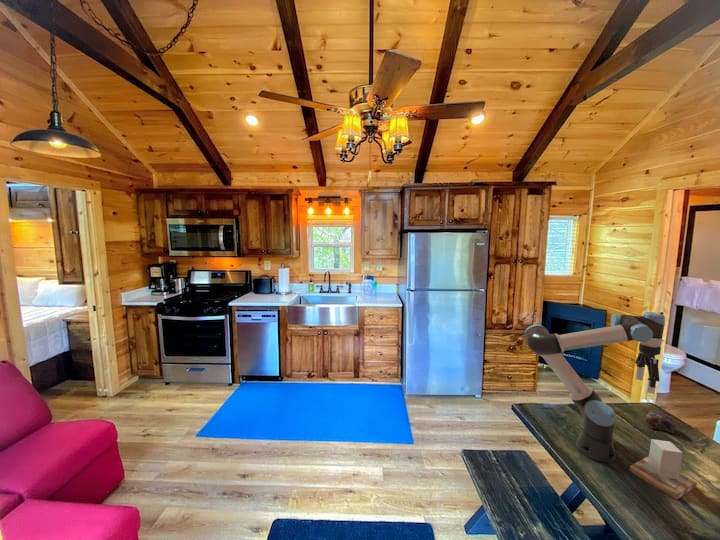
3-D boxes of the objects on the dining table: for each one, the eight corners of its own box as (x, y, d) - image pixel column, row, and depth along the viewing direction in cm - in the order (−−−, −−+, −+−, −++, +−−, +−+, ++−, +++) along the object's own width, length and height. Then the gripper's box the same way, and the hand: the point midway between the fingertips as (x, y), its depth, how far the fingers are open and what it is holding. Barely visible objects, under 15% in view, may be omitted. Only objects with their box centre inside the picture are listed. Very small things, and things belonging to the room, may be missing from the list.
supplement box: (679, 480, 129) (683, 453, 127) (658, 476, 131) (662, 450, 129) (666, 467, 136) (670, 441, 135) (646, 463, 138) (650, 438, 136)
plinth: (676, 499, 124) (677, 493, 123) (629, 470, 138) (630, 464, 138) (696, 486, 130) (697, 480, 129) (649, 460, 144) (649, 454, 144)
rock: (672, 438, 161) (670, 428, 168) (679, 425, 159) (676, 415, 166) (643, 426, 168) (642, 417, 175) (648, 413, 166) (647, 404, 173)
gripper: (673, 355, 134) (666, 400, 137) (649, 337, 157) (643, 376, 160) (651, 352, 137) (645, 396, 140) (630, 335, 160) (625, 373, 163)
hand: (644, 386), depth 150 cm, fingers open, 13 cm apart
